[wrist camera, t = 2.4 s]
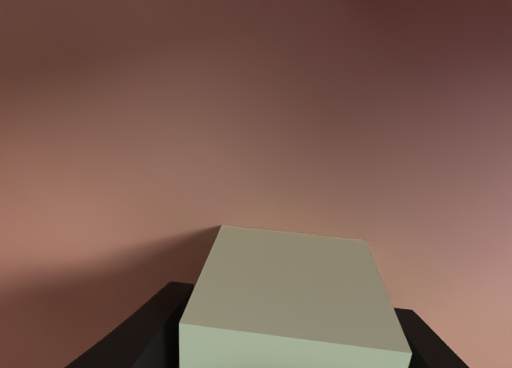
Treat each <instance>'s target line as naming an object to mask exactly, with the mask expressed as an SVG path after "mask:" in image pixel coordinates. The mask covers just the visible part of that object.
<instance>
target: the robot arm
mask: <svg viewBox="0 0 512 368" xmlns="http://www.w3.org/2000/svg"><path fill="white" fill-rule="evenodd" d="M193 290H194V284H187V283H179V282H170V283H169V284H167V285H166V286H165V287H164V288H162V289H161V290H160V291H159V292H158V293H157V294H156V295H154V296H153V297H152V298H151V299H150V300H149V301H148V302H146V303H145V304H144V305H143V306H142V307H141V308H139V309H138V310H137V311H136V312H135V313H134V314H132V315H131V316H130V317H129V318H128V319H126V320H125V321H124V322H123V323H122V324H120V325H119V326H118V327H117V328H115V329H114V330H113V331H112V332H111V333H109V334H108V335H107V336H106V337H104V338H103V339H102V340H101V341H99V342H98V343H97V344H95V345H94V346H93V347H91V348H90V349H89V350H87V351H86V352H85V353H83V354H82V355H81V356H79V357H78V358H77V359H75V360H74V361H73V362H71V363H70V364H69V365H67V366H66V367H65V368H180V366H179V322H180V320H181V318H182V315H183V313H184V311H185V308H186V306H187V304H188V302H189V299H190V297H191V295H192V292H193ZM394 311H395V313H396V316H397V318H398V320H399V323H400V325H401V328H402V330H403V333H404V335H405V337H406V340H407V342H408V345H409V347H410V349H411V352H412V355H411V359H410V362H409V366H408V368H469V367H468V366H467V365H466V364H465V363H464V362H463V361H462V360H461V359H460V358H459V357H458V356H457V355H456V354H455V353H454V352H453V351H452V350H451V349H450V348H449V347H448V346H447V345H446V344H445V343H444V341H443V340H442V339H441V338H440V337H439V336H438V335H437V334H436V333H435V332H434V331H433V330H432V329H431V328H430V327H429V326H428V325H427V324H426V323H425V322H424V321H423V320H422V319H421V318H420V317H419V316H418V315H417V314H416V313H415V312H414V311H413V310H408V309H399V308H394Z"/></svg>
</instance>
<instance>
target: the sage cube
mask: <svg viewBox="0 0 512 368" xmlns="http://www.w3.org/2000/svg"><path fill="white" fill-rule="evenodd" d="M411 355H412V352H411V349H410V347H409V345H408V342H407V340H406V337H405V335H404V333H403V330H402V328H401V325H400V323H399V320H398V318H397V316H396V313H395V311H394V308H393V306H392V303H391V301H390V299H389V296H388V294H387V291H386V289H385V286H384V284H383V282H382V279H381V277H380V274H379V272H378V269H377V267H376V265H375V262H374V260H373V257H372V255H371V252H370V250H369V248H368V245H367V243H366V240H360V239H351V238H342V237H332V236H323V235H314V234H304V233H295V232H286V231H276V230H267V229H258V228H248V227H239V226H230V225H222V226H221V228H220V230H219V233H218V235H217V237H216V240H215V242H214V244H213V246H212V249H211V251H210V253H209V256H208V258H207V260H206V263H205V265H204V267H203V269H202V272H201V274H200V276H199V279H198V281H197V283H196V286H195V288H194V290H193V292H192V295H191V297H190V299H189V302H188V304H187V306H186V308H185V311H184V313H183V315H182V318H181V320H180V322H179V366H180V368H408V366H409V362H410V359H411Z"/></svg>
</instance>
